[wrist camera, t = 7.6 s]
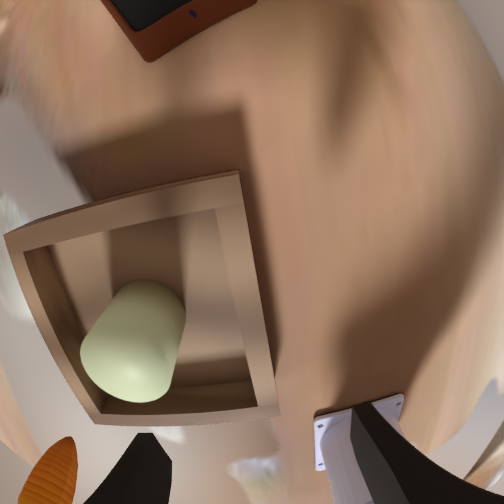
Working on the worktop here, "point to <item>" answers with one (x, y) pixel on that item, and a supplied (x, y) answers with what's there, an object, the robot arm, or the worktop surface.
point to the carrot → (53, 476)
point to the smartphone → (168, 21)
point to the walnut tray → (169, 274)
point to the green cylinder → (136, 342)
